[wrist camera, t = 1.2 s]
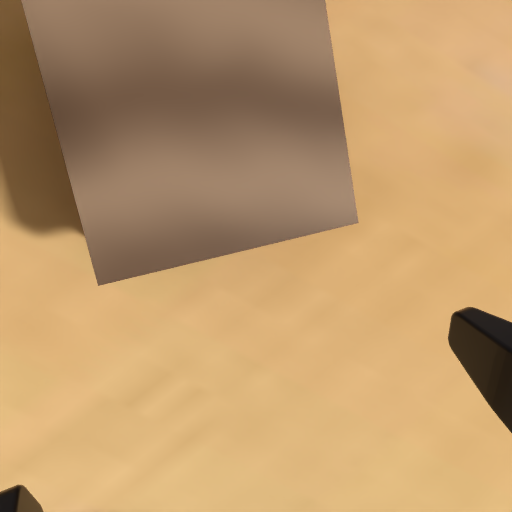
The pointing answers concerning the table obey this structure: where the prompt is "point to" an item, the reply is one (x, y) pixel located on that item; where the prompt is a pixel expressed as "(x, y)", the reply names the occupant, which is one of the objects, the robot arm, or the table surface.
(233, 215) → the small stand
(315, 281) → the table surface
